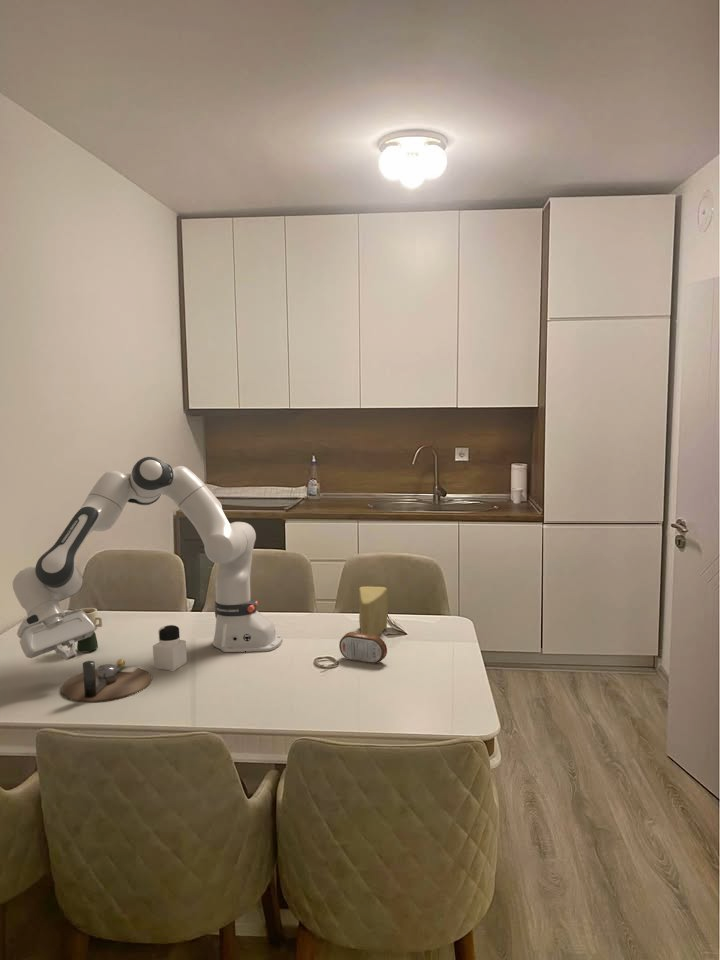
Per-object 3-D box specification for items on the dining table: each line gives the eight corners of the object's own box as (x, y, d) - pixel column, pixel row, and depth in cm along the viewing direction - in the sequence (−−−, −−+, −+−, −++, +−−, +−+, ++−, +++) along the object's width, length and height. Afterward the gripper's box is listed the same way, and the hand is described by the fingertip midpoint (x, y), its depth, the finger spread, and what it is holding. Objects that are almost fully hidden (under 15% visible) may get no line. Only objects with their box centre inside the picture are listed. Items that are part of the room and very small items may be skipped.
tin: (387, 663, 224) (387, 635, 223) (383, 666, 222) (383, 639, 221) (342, 656, 231) (342, 629, 230) (338, 659, 228) (337, 632, 227)
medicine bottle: (187, 662, 227) (185, 624, 226) (174, 671, 220) (172, 631, 219) (167, 660, 229) (165, 622, 228) (153, 668, 223) (151, 629, 221)
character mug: (109, 647, 242) (106, 608, 241) (98, 654, 235) (95, 614, 234) (77, 646, 244) (75, 607, 242) (66, 653, 237) (63, 613, 235)
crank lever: (127, 667, 221) (126, 637, 220) (101, 697, 199) (99, 664, 198) (111, 667, 221) (109, 638, 220) (82, 697, 199) (80, 664, 198)
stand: (165, 670, 221) (164, 666, 221) (128, 704, 197) (128, 699, 197) (89, 667, 224) (88, 663, 224) (44, 699, 201) (43, 695, 201)
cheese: (380, 650, 236) (380, 603, 234) (350, 649, 237) (349, 603, 235) (387, 628, 258) (387, 585, 256) (359, 627, 259) (359, 585, 257)
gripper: (78, 613, 222) (100, 650, 217) (11, 635, 206) (34, 676, 202) (84, 601, 218) (108, 639, 214) (17, 623, 203) (40, 664, 198)
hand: (71, 657), depth 208 cm, fingers closed
